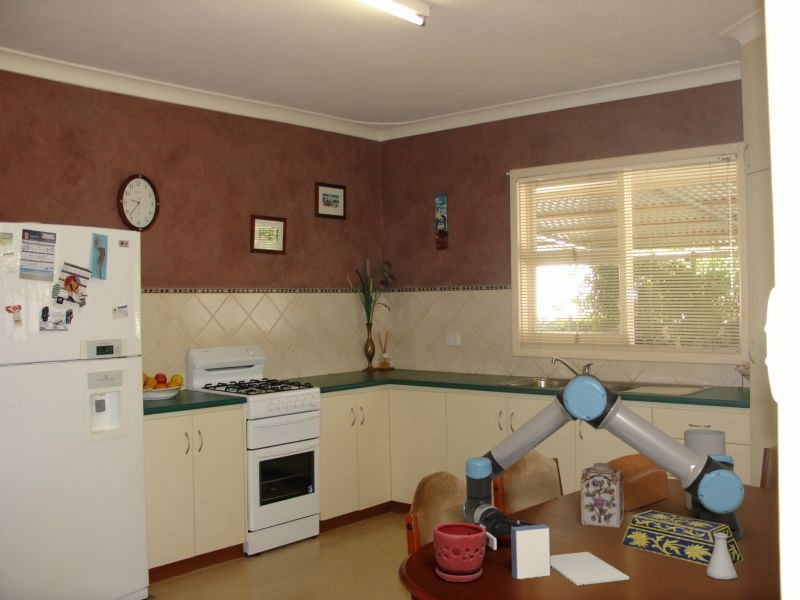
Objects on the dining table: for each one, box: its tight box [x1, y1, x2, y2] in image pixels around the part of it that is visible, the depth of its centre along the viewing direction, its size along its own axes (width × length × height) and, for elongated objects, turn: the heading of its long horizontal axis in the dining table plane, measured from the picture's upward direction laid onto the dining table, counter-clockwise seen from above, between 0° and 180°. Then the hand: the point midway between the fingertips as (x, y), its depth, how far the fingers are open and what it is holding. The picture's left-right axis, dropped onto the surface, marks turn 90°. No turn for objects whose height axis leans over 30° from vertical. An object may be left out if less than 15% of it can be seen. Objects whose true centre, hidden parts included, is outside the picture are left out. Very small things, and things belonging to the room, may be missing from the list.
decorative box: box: [620, 509, 744, 566], centre depth 209 cm, size 11×30×9 cm, turn 40°
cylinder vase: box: [683, 428, 727, 511], centre depth 253 cm, size 12×12×25 cm
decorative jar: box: [580, 462, 625, 529], centre depth 240 cm, size 12×12×18 cm
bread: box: [606, 453, 669, 512], centre depth 264 cm, size 14×26×16 cm, turn 133°
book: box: [510, 523, 552, 580], centre depth 193 cm, size 3×9×12 cm, turn 104°
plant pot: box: [432, 522, 487, 583], centre depth 194 cm, size 13×13×12 cm
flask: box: [705, 533, 739, 581], centre depth 190 cm, size 7×7×10 cm
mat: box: [550, 551, 630, 586], centre depth 197 cm, size 21×14×1 cm, turn 14°
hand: (520, 541), depth 198 cm, fingers open, 13 cm apart
